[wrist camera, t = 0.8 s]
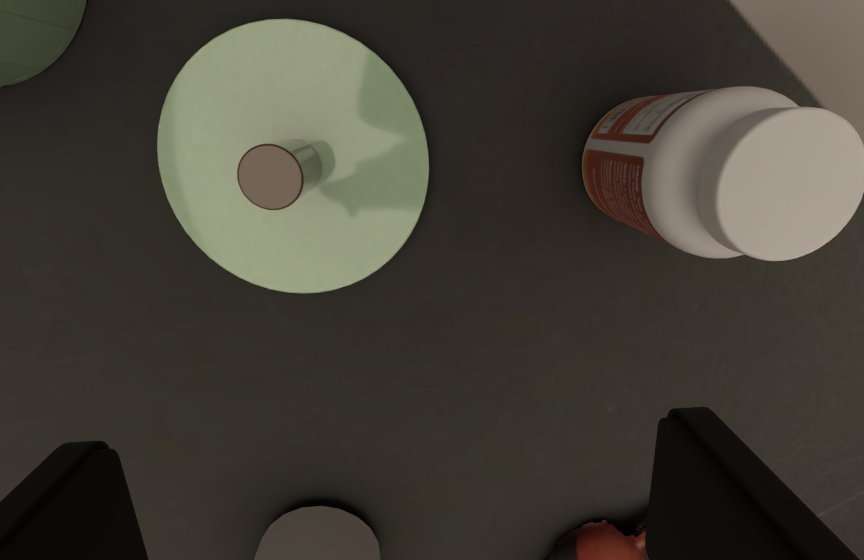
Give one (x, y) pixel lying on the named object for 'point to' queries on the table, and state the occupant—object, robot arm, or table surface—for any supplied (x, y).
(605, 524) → the stuffed fox
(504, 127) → the table surface
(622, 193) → the pill bottle
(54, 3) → the pot
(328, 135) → the lid
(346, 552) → the can
